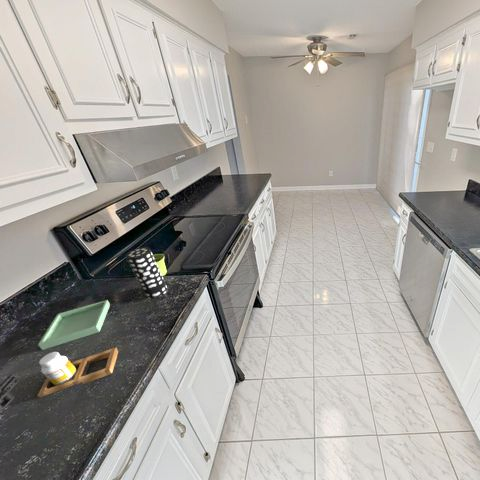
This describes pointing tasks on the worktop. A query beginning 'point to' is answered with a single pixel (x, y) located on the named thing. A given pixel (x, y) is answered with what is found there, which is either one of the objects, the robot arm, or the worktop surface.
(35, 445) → the worktop surface
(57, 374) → the supplement bottle
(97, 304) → the tray
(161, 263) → the plant pot
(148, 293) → the white-spotted black cylinder
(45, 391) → the bottle rack
